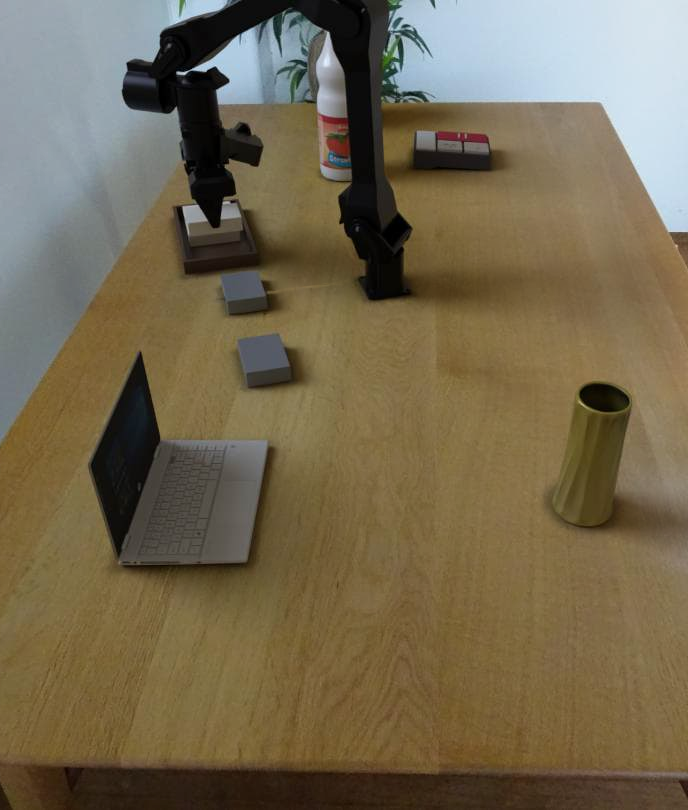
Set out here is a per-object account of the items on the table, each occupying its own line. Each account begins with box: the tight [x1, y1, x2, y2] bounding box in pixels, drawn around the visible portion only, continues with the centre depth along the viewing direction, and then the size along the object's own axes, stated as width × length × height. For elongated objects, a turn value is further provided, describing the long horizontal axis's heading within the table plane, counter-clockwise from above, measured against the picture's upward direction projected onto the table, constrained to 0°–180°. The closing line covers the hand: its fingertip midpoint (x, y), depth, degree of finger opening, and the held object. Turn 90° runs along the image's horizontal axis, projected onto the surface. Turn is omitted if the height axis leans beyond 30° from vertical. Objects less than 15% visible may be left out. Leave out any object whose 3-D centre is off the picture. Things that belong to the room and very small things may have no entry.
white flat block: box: [185, 203, 243, 237], centre depth 124 cm, size 8×6×2 cm
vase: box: [552, 380, 633, 527], centre depth 79 cm, size 6×6×14 cm
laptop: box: [87, 349, 270, 566], centre depth 80 cm, size 18×12×13 cm
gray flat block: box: [236, 332, 292, 388], centre depth 103 cm, size 8×6×2 cm
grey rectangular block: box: [219, 269, 268, 316], centre depth 117 cm, size 8×6×2 cm
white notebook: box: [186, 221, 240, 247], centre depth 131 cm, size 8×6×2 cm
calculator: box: [412, 130, 492, 171], centre depth 160 cm, size 11×4×15 cm
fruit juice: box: [316, 31, 352, 182], centre depth 147 cm, size 9×9×28 cm
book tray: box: [172, 198, 260, 275], centre depth 131 cm, size 21×11×2 cm, turn 17°
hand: (213, 220), depth 124 cm, fingers closed on white flat block, 5 cm apart
